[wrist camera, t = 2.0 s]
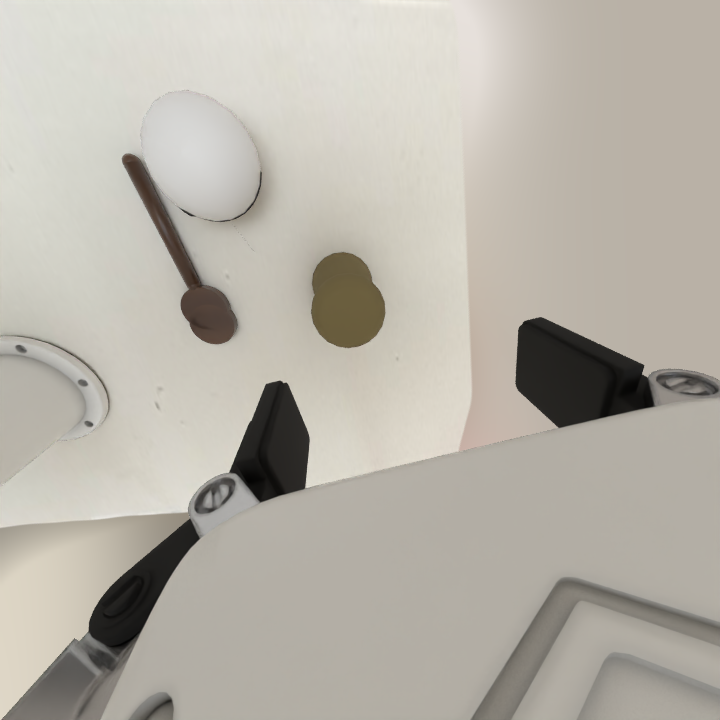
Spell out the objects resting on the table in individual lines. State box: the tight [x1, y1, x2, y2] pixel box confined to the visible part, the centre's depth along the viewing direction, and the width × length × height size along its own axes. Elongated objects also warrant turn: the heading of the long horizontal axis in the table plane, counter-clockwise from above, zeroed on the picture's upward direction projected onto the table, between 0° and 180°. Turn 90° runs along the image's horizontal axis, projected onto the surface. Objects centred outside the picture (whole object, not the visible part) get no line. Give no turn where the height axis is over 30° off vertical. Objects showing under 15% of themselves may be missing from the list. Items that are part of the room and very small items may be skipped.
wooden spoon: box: [122, 154, 237, 344], centre depth 25 cm, size 16×4×1 cm, turn 13°
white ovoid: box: [140, 90, 262, 250], centre depth 20 cm, size 10×7×7 cm
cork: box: [311, 252, 385, 348], centre depth 23 cm, size 6×6×11 cm
